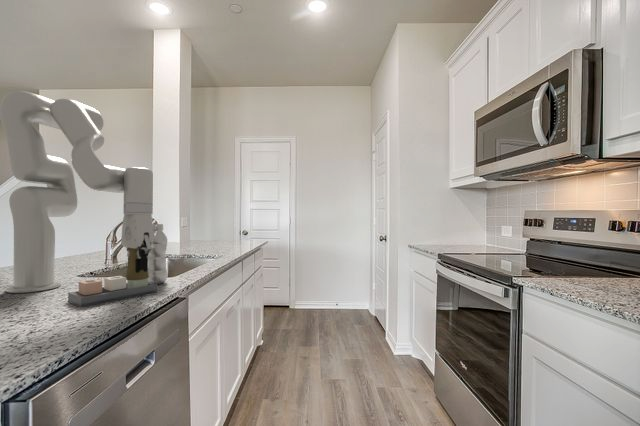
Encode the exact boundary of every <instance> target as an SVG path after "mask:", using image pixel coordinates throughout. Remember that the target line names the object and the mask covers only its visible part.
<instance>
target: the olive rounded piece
mask: <svg viewBox="0 0 640 426" xmlns="http://www.w3.org/2000/svg"><path fill="white" fill-rule="evenodd" d="M139 247H140V248H143V247H145V246H144V245H143V246H139ZM128 251H129V252H130V254H129V261H128V260H127V266H126V268H127V269H126V274H125V277H126V281H127V280H142V279H147V278H149V274H148V271H147V272H144V271H143V270H141V271H140V272H139V273H136V271H135V265H136V259H137V248H136V249H133V248H129V247H128ZM141 251H142V250H140V253H141Z"/></svg>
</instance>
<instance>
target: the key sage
mask: <svg viewBox="0 0 640 426" xmlns="http://www.w3.org/2000/svg"><path fill="white" fill-rule="evenodd" d="M126 283H127V289H131V288H137V287H142V286H148V278H147V279H142V280H126Z"/></svg>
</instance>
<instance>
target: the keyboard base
mask: <svg viewBox="0 0 640 426" xmlns="http://www.w3.org/2000/svg"><path fill="white" fill-rule="evenodd" d="M67 293H68V294H67V296H68V298H67V302H68V303H69V304H72V305H73V306H76V307H77V308H80V309H85V308H89V307H93V306H99V305H104V304H108V303H109V304H110V303H114V302H118V301H119V302H120V301H124V300H129V299H130V300H131V299H134V298H139V297H144V296H149V295H153V294H154V295H155V294H158V284H153V283H149V282H148V286H142V287H137V288H131V289H127V282H126V288H124V289H118V290H113V291H109V290H107V289H104V286H102V292H101V293H95V294H89V295H82V294H80V293H79V290H77V291H71V292H67Z"/></svg>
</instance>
